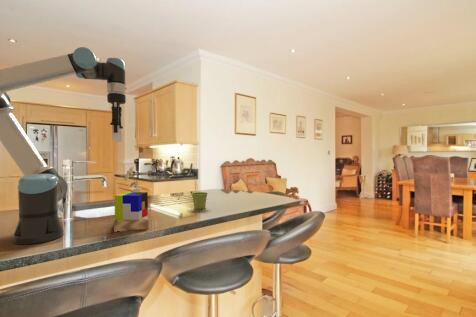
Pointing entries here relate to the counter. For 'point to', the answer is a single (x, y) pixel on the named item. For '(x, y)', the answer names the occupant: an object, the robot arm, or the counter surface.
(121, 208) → the puzzle toy
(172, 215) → the counter surface
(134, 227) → the plinth
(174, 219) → the counter surface
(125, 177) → the flower in vase
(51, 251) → the counter surface
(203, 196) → the plant pot
